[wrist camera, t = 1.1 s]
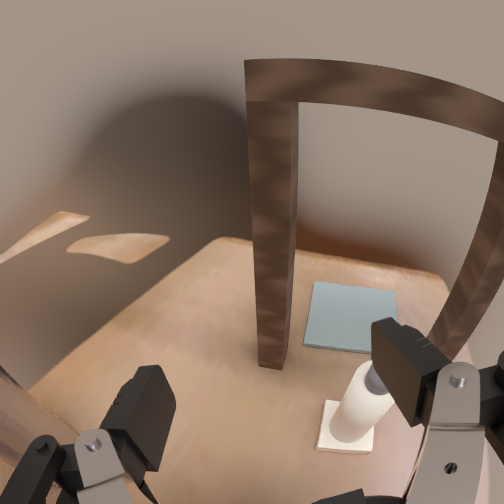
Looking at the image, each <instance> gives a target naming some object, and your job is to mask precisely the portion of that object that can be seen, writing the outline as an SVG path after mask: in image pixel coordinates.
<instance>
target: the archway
mask: <svg viewBox="0 0 504 504" xmlns="http://www.w3.org/2000/svg"><path fill="white" fill-rule="evenodd" d="M244 67H245V68H244V69H245V90H246V108H247V109H246V110H247V128H248V129H247V130H248V148H249V149H248V150H249V170H250V191H251V210H252V232H253V253H254V274H255V295H256V316H257V338H258V359H259V366H261V367H266V368H272V369H277V370H282V368H283V364H284V360H285V356H286V352H287V348H288V340H289V328H290V316H291V303H292V290H293V274H294V258H295V239H296V215H297V185H298V102H311V103H325V104H336V105H346V106H355V107H363V108H370V109H376V110H383V111H389V112H394V113H400V114H405V115H410V116H415V117H419V118H424V119H428V120H432V121H436V122H440V123H444V124H448V125H452V126H455V127H458V128H462V129H465V130H469V131H471V132H475V133H478V134H481V135H484V136H486V137H489V138H492V139H495V140H498V147H497V153H496V159H495V164H494V168H493V173H492V177H491V181H490V186H489V190H488V193H487V197H486V201H485V204H484V207H483V211H482V214H481V217H480V220H479V223H478V226H477V230H476V232H475V235H474V238H473V241H472V243H471V246H470V249H469V251H468V254H467V256H466V259H465V261H464V264H463V266H462V269H461V271H460V273H459V276H458V278H457V280H456V282H455V284H454V286H453V289H452V291H451V293H450V295H449V297H448V299H447V301H446V303H445V305H444V307H443V309H442V311H441V312H440V314H439V316H438V318H437V320H436V322H435V324H434V325H433V327H432V329H431V331H430V332H429V334H428V336H427V337H426V338H427V339H428V340H429V341H430V342H431V344H433V345H434V346H435V347H436V348H438V349H439V350H440V351H441V352H442V353H443V354H444V355H445V356H446V357H447V358H448V359H449V360H450V361H451V362H452V360H453V359H454V358H455V356H456V355H457V354H458V352H459V351H460V350H461V348H462V347H463V345H464V344H465V343H466V341H467V339H468V338H469V337H470V335H471V334H472V332H473V331H474V329H475V328H476V326H477V325H478V323H479V322H480V320H481V318H482V317H483V315H484V314H485V312H486V310H487V308H488V307H489V305H490V303H491V301H492V300H493V298H494V296H495V294H496V293H497V291H498V289H499V287H500V285H501V283H502V281H503V279H504V102H502V101H499V100H497V99H495V98H492V97H490V96H487V95H485V94H482V93H479V92H477V91H474V90H471V89H469V88H466V87H463V86H460V85H457V84H454V83H451V82H447V81H444V80H440V79H437V78H433V77H430V76H426V75H421V74H418V73H413V72H409V71H404V70H399V69H394V68H388V67H383V66H377V65H370V64H363V63H354V62H345V61H335V60H321V59H252V60H244Z"/></svg>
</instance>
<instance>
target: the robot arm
mask: <svg viewBox="0 0 504 504" xmlns="http://www.w3.org/2000/svg"><path fill="white" fill-rule="evenodd" d="M371 358H372V363H373V367H374V369H375V371H376V373H377V374H378V376H379V377H380V379H381V381H382V382H383V384H384V385H385V387H386V388H387V390H388V391H389V393H390V395H391V396H392V398H393V399H394V401H395V403H396V404H397V406H398V407H399V409H400V411H401V412H402V414H403V415H404V417H405V419H406V420H407V422H408V423H409V425H410V427H411V428H412V427H414V426H416V425H418V424H421V423H422V424H423V426H424V427H425V429H424V432H423V436H422V440H421V443H420V447H419V450H418V454H417V457H416V460H415V463H414V466H413V469H412V472H411V475H410V478H409V480H408V483H407V485H406V488H405V490H404V492H403V495H402V497H401V498H400V497H394V496H382V495H379V496H364V493H363V490H362V488H361V489H358V490H355V491H351V492H348V493H345V494H341V495H337V496H333V497H329V498H325V499H321V500H319V501H317V502H314V503H312V504H474V503H475V498H476V494H477V489H478V484H479V479H480V473H481V466H482V459H483V450H484V440H485V437H486V438H487V440H488V441H489V443H490V444H491V446H492V447H493V449H494V450H495V452H496V453H497V455H498V457H499V458H500V460H501V461H502V463H503V465H504V351H503V352H502V353H501V354H500V356H499V359H498V362H497V365H495V366H492V367H488V368H484V369H480V370H477V369H476V368H475V367H474V366H473V365H471V364H469V363H465V362H454V363H452V362H451V361H450V360H449V359H448V358H447V357H446V356H445V355H444V354H443V353H442V352H441V351H440V350H439V349H438V348H436V347H435V346H434V345H433V344H431V342H430V341H429V340H428V339H427V338H425V337H424V335H423V334H422V333H420V332H419V331H418V330H417V329H415V328H412V327H410V326H407V325H404V326H401V325H400V324H398V323H397V322H396V321H395V320H394V319H393V318H392V317H388V318H384V319H381V320H378V321H375V322H372V324H371ZM175 410H176V400H175V396H174V394H173V391H172V389H171V387H170V385H169V383H168V381H167V379H166V377H165V375H164V372H163V370H162V368H161V367H160V366H159V365H149V366H140V367H139V368H138V370H137V372H136V373H135V375H134V377H133V379H130V380H129V381H128V382H127V383H126V384H124V385H123V386H122V387H121V389H120V391H119V393H118V394H117V398H115V400H114V401H113V405H111V407H110V409H109V411H108V412H107V414H106V416H105V418H104V420H103V421H102V423H101V425H100V427H99V429H98V428H97V429H91V430H88V431H86V432H84V433H82V434H81V435H80V436H79V434H78V433H77V432H75V431H74V430H73V429H71V428H70V427H69V426H67V425H66V424H65V423H63V422H62V421H61V420H60V419H58V418H57V417H56V416H55V415H53V414H52V413H51V412H50V411H48V410H47V409H46V408H45V407H44V406H43V405H41V404H40V403H39V402H38V401H37V400H36V399H34V398H33V397H32V396H31V395H30V394H29V393H28V392H27V391H26V390H25V389H24V388H23V387H22V386H20V385H19V384H18V383H17V382H16V381H15V380H14V379H13V378H12V377H11V376H10V375H9V374H8V373H7V372H6V370H5V369H4V368H3V367H2V366H1V365H0V459H1V460H3V461H4V462H6V463H8V464H10V465H12V466H14V467H15V468H16V469H15V470H14V472H13V474H12V476H11V478H10V479H9V481H8V483H7V485H6V487H5V489H4V490H3V492H2V494H1V496H0V504H46V497H47V495H48V492H49V490H50V488H51V486H52V484H53V485H55V486H58V487H61V488H62V490H61V492H60V495H59V497H58V499H57V502H56V504H161V502H160V501H159V499H158V498H157V496H156V494H155V493H154V491H153V489H152V488H151V486H150V484H149V483H148V481H147V480H146V478H145V477H144V475H145V472H146V471H152V472H158V470H159V466H160V463H161V459H162V455H163V452H164V448H165V445H166V441H167V437H168V434H169V430H170V427H171V423H172V420H173V417H174V413H175Z"/></svg>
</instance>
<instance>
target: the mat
mask: <svg viewBox="0 0 504 504" xmlns="http://www.w3.org/2000/svg"><path fill="white" fill-rule="evenodd" d="M388 317H392V318H393V319H394V320H395V321H396V322H397V323H398V315H397V307H396V300H395V293H394V291H390V290H381V289H373V288H365V287H357V286H349V285H341V284H333V283H325V282H318V281H314V287H313V293H312V299H311V305H310V311H309V316H308V322H307V327H306V333H305V338H304V343H303V346H310V347H317V348H324V349H332V350H340V351H348V352H358V353H367V354H371V324H372V322H375V321H378V320H381V319H384V318H388ZM398 324H399V323H398Z"/></svg>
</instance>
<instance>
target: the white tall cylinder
mask: <svg viewBox="0 0 504 504" xmlns="http://www.w3.org/2000/svg"><path fill="white" fill-rule="evenodd" d="M394 402H395V401H394V399H393V398H392V396H391V395H390V393H389V391H388V390H387V388H386V387H385V385H384V384H383V382H382V381H381V379H380V377H379V376H378V374H377V373H376V371H375V369H374V367H373V363H372V360H369V361H367V362H365V363H363V364H362V365H361V366H359V368H358V369H357V370H356V372H355V374H354V376H353V378H352V380H351V382H350V384H349V386H348V388H347V390H346V392H345V394H344V396H343V398H342V400H341V402H340V401H331V400H326V402H325V404H324V408H323V414H322V420H321V425H320V430H319V435H318V440H317V445H316V450H319V451H328V452H339V453H354V454H368V453H370V452H371V451H372V444H373V434H374V425H375V424H376V423H377V422H378V420H379V419H380V418H381V417H382V416H383V415H384V414H385V413H386V412H387V411H388V409H389V408H390V407H391V406H392V405H393V404H394Z"/></svg>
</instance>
